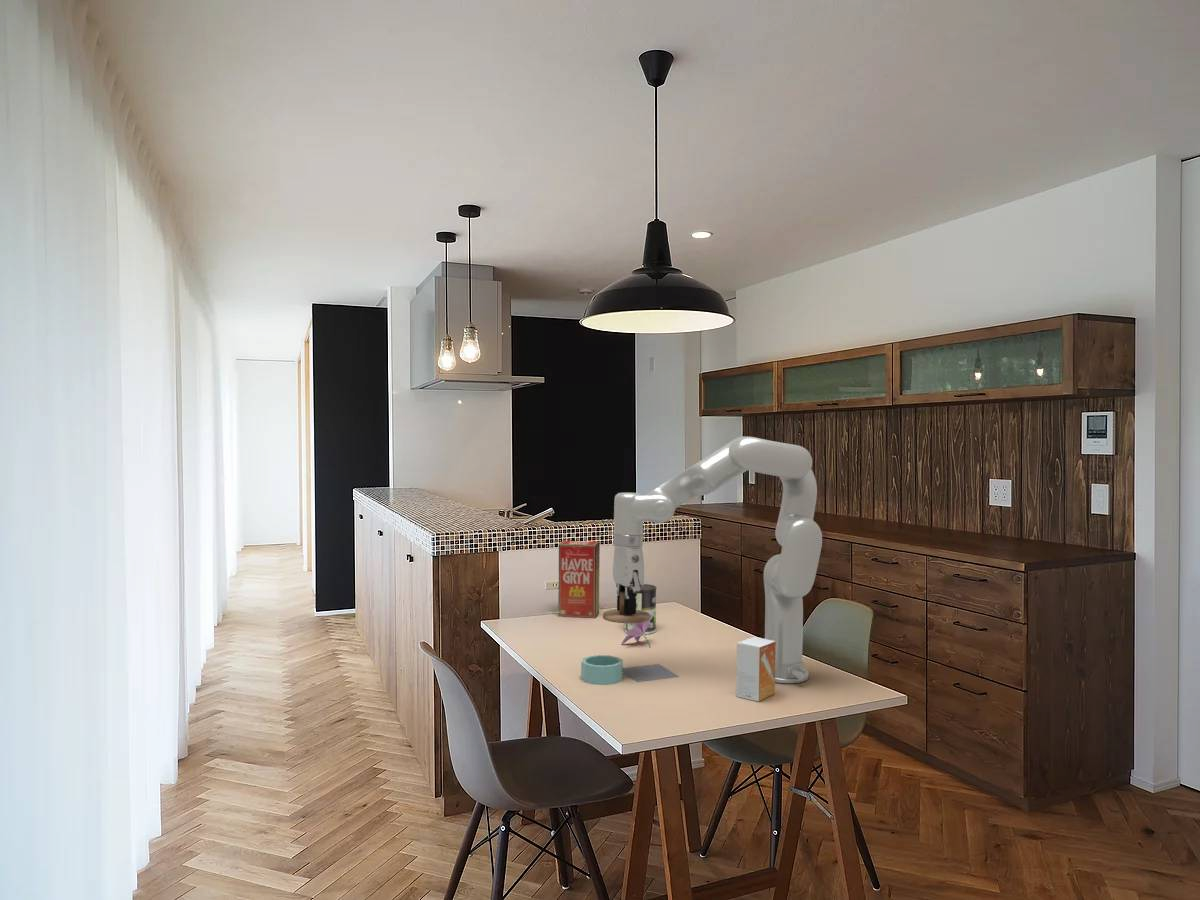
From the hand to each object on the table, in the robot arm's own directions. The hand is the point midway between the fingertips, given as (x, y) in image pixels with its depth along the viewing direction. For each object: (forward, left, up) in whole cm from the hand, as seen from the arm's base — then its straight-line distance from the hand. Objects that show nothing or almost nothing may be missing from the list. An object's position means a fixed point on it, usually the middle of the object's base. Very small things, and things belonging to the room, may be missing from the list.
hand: (626, 611), depth 205 cm
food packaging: (+71, -14, -17) cm, 74 cm away
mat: (0, -6, -17) cm, 18 cm away
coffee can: (+43, -24, -17) cm, 52 cm away
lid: (0, 0, -2) cm, 2 cm away
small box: (-24, -23, -17) cm, 38 cm away
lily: (+27, -17, -17) cm, 37 cm away
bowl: (0, +7, -17) cm, 18 cm away
